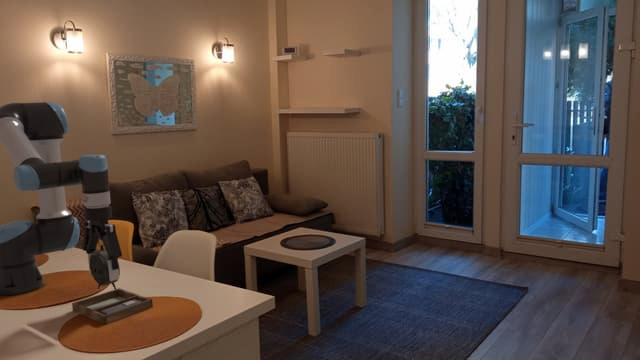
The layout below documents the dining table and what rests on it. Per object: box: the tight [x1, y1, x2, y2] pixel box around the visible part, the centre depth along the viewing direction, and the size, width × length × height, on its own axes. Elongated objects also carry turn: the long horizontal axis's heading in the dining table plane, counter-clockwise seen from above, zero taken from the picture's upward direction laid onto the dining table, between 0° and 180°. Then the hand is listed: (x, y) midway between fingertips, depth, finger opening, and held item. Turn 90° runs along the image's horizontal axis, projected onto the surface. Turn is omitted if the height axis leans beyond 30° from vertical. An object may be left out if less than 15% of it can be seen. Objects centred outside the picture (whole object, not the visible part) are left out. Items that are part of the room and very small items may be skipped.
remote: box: [101, 299, 141, 315], centre depth 154 cm, size 4×11×2 cm, turn 142°
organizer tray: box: [71, 287, 154, 325], centre depth 157 cm, size 18×16×3 cm
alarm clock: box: [88, 237, 121, 290], centre depth 158 cm, size 11×5×16 cm, turn 49°
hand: (104, 276), depth 158 cm, fingers closed on alarm clock, 11 cm apart
